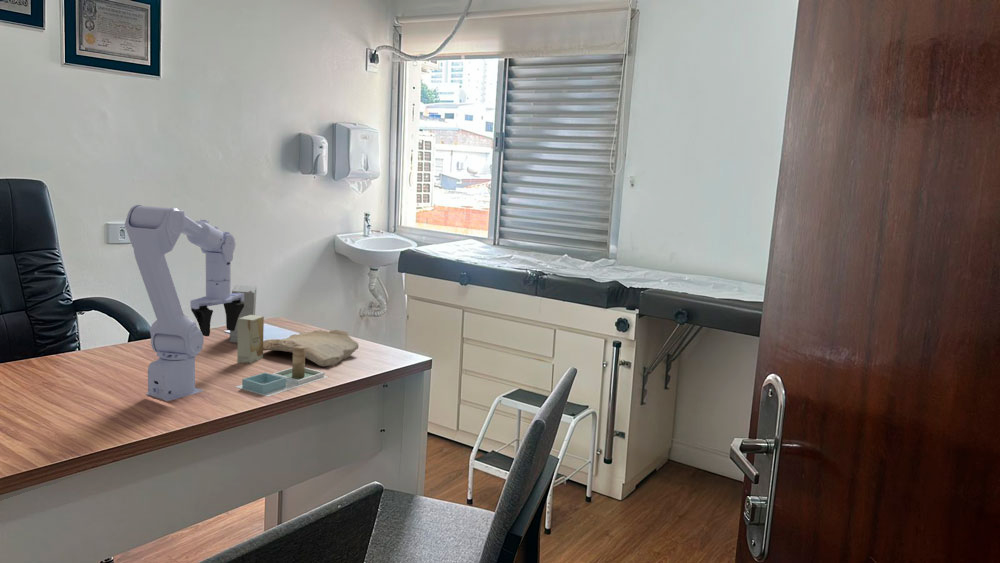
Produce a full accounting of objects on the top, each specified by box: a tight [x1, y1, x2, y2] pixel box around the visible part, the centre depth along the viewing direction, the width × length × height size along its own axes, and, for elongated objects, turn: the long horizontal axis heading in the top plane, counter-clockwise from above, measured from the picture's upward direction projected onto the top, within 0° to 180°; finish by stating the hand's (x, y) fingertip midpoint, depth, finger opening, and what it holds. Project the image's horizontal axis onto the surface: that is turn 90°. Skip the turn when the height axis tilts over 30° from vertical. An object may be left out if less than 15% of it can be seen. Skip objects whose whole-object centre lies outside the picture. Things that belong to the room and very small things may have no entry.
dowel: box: [291, 346, 306, 378], centre depth 178 cm, size 3×3×8 cm
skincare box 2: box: [236, 314, 265, 364], centre depth 190 cm, size 6×4×12 cm
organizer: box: [235, 367, 329, 398], centre depth 174 cm, size 20×11×2 cm, turn 151°
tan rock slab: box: [263, 329, 359, 367], centre depth 200 cm, size 24×8×20 cm
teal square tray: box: [241, 372, 286, 394], centre depth 169 cm, size 7×7×2 cm
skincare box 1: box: [229, 284, 258, 344], centre depth 211 cm, size 8×7×16 cm
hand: (218, 332), depth 178 cm, fingers open, 7 cm apart
